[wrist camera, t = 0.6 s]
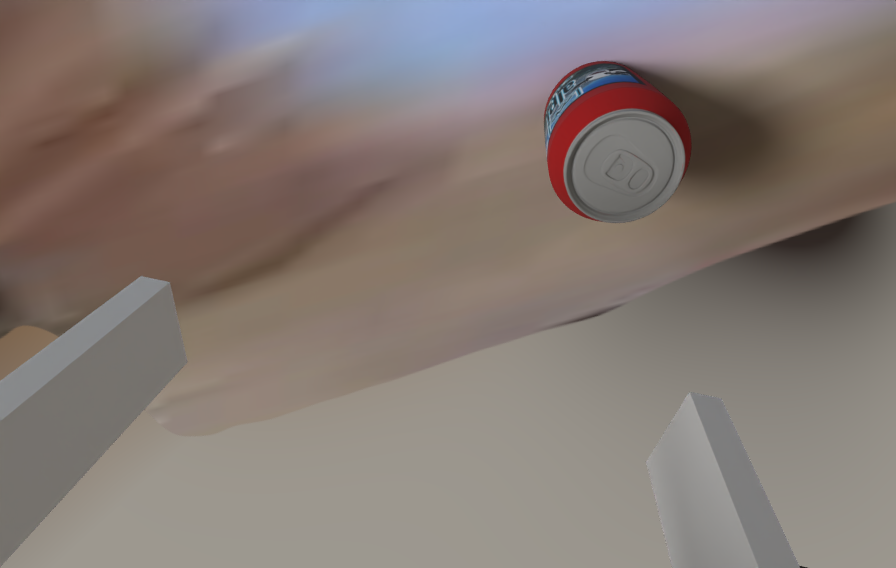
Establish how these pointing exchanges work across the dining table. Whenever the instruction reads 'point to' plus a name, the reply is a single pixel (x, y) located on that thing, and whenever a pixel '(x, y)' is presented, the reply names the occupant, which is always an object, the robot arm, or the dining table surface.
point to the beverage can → (613, 143)
